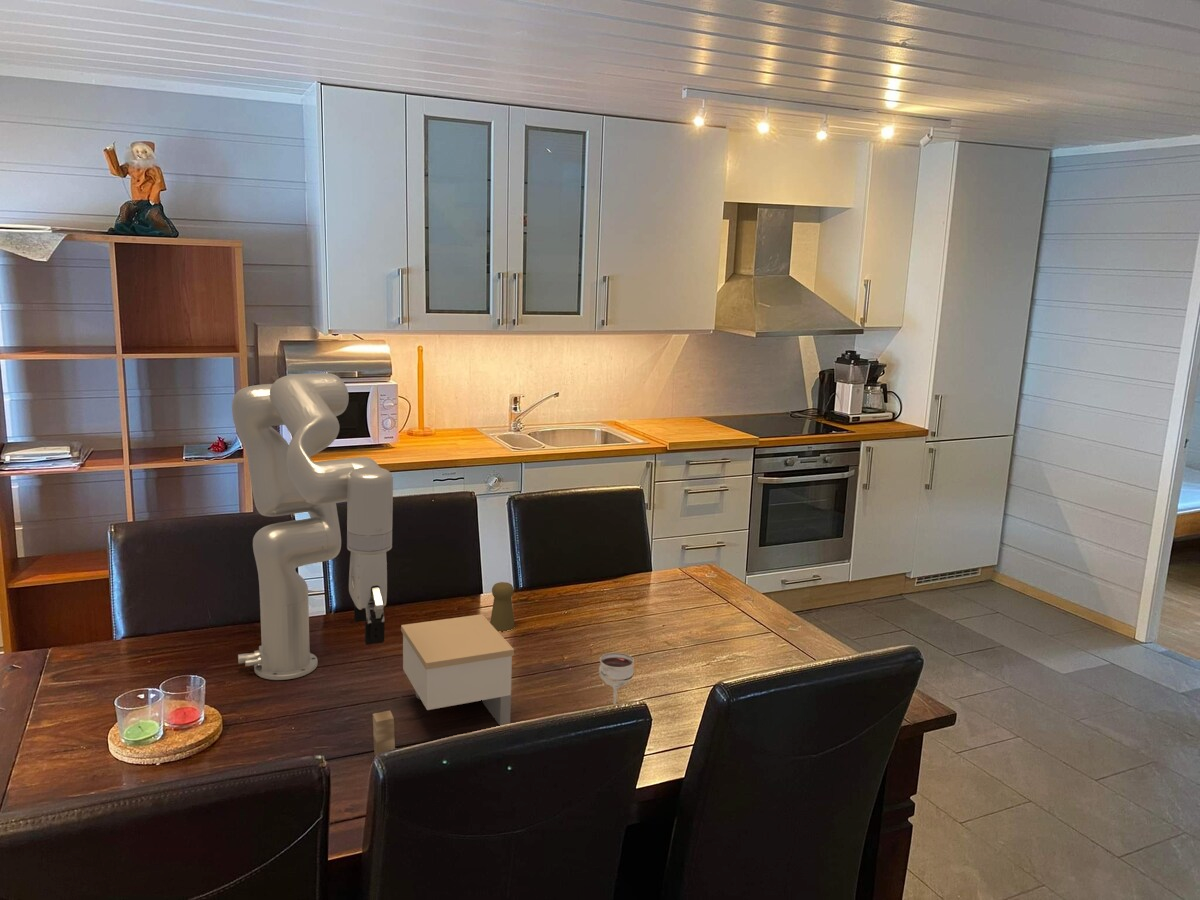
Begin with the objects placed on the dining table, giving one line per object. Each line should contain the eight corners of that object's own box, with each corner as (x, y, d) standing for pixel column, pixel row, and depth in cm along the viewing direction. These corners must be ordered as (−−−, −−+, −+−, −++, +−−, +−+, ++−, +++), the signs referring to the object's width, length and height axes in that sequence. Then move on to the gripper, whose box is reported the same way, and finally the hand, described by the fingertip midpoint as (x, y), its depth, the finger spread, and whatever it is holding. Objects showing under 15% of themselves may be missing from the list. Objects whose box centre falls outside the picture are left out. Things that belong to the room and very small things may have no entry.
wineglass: (589, 716, 170) (591, 658, 167) (613, 706, 174) (616, 649, 172) (614, 730, 165) (617, 671, 163) (638, 719, 170) (641, 661, 167)
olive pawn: (515, 622, 214) (516, 579, 212) (513, 632, 208) (514, 588, 206) (490, 622, 214) (491, 579, 212) (488, 631, 208) (489, 587, 206)
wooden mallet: (377, 764, 150) (376, 721, 149) (374, 755, 153) (372, 713, 151) (481, 742, 158) (481, 701, 156) (476, 734, 160) (476, 693, 159)
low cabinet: (425, 741, 158) (426, 663, 155) (401, 696, 174) (401, 625, 172) (512, 724, 165) (514, 649, 162) (481, 683, 182) (482, 614, 179)
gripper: (338, 525, 157) (338, 615, 160) (357, 557, 141) (356, 655, 145) (381, 522, 160) (379, 610, 163) (403, 553, 145) (401, 649, 148)
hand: (368, 631), depth 154 cm, fingers open, 9 cm apart
